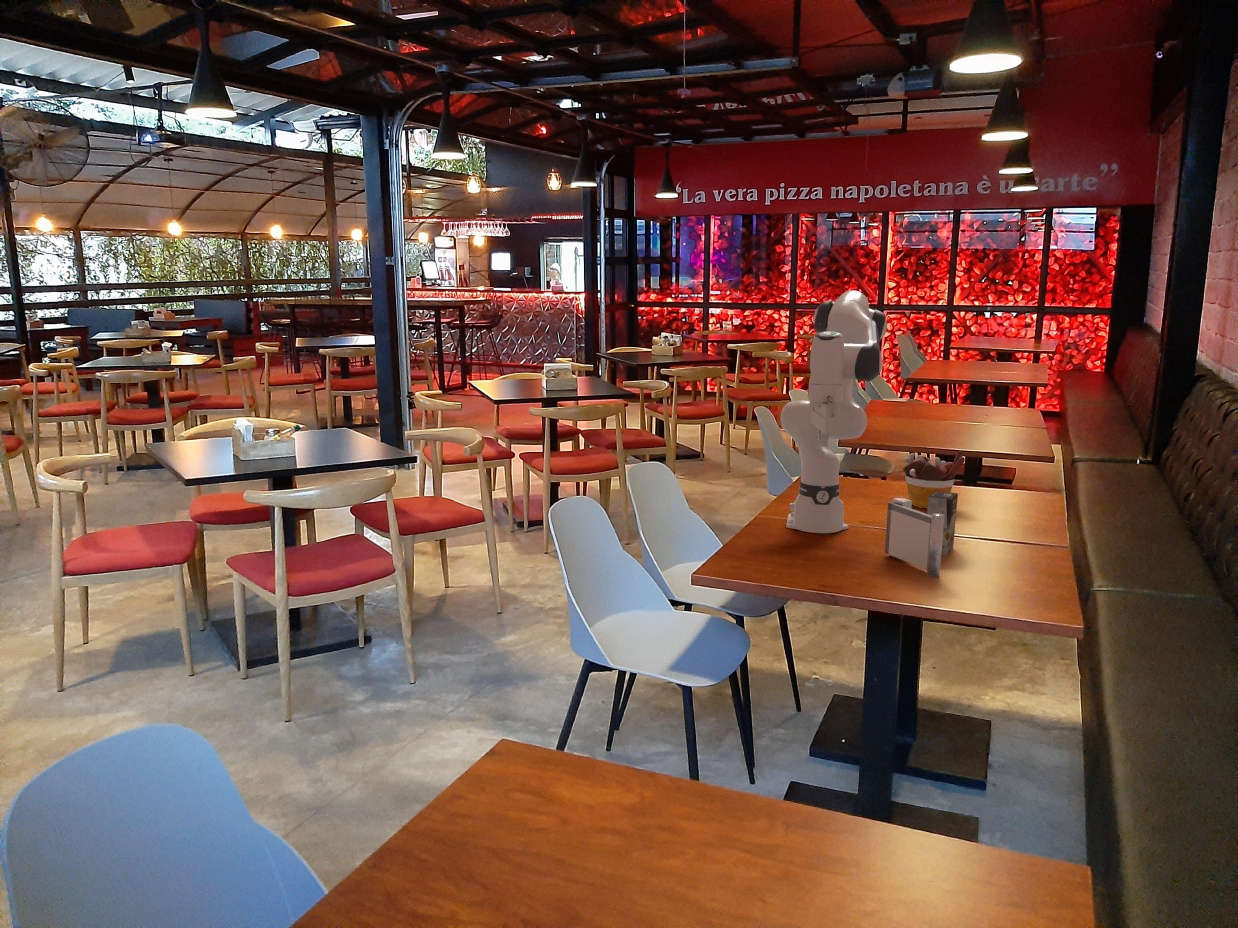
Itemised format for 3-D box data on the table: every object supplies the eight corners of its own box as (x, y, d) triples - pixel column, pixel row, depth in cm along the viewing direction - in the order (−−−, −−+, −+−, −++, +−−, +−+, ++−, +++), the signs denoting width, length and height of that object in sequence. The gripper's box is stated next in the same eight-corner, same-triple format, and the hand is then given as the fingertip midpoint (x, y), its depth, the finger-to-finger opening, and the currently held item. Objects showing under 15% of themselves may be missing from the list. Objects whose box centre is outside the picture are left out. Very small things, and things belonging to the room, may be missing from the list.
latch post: (907, 558, 245) (911, 500, 242) (898, 559, 244) (902, 501, 241) (898, 554, 249) (902, 497, 246) (889, 555, 248) (893, 498, 245)
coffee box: (947, 555, 248) (951, 499, 245) (923, 552, 251) (927, 496, 248) (953, 548, 256) (958, 492, 253) (930, 544, 259) (934, 490, 256)
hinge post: (925, 573, 232) (930, 513, 229) (937, 573, 232) (942, 513, 229) (929, 577, 229) (933, 516, 226) (941, 577, 229) (946, 516, 226)
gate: (931, 569, 232) (935, 516, 229) (926, 570, 231) (930, 517, 229) (889, 551, 248) (892, 502, 245) (884, 552, 247) (888, 502, 244)
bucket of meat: (896, 508, 302) (900, 450, 299) (901, 498, 317) (905, 442, 314) (960, 514, 295) (965, 454, 291) (961, 504, 310) (966, 447, 306)
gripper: (846, 399, 227) (843, 453, 230) (829, 389, 247) (827, 439, 250) (821, 399, 227) (818, 453, 230) (806, 389, 247) (804, 439, 250)
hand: (823, 445), depth 240 cm, fingers closed
